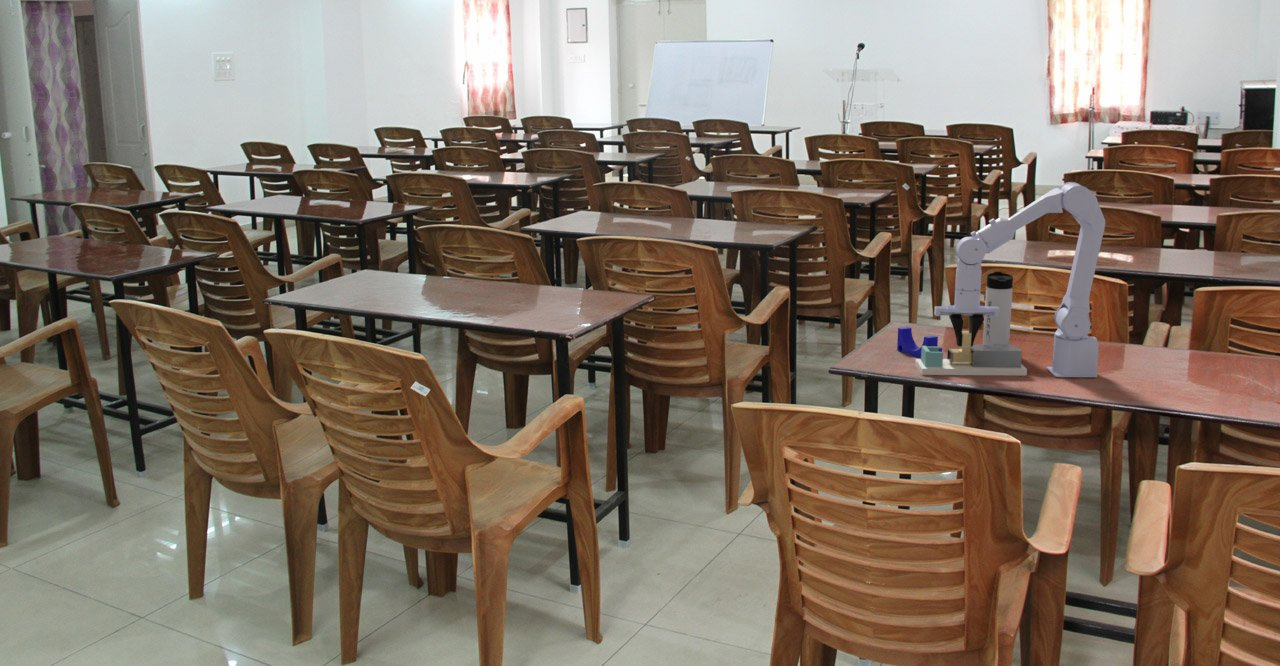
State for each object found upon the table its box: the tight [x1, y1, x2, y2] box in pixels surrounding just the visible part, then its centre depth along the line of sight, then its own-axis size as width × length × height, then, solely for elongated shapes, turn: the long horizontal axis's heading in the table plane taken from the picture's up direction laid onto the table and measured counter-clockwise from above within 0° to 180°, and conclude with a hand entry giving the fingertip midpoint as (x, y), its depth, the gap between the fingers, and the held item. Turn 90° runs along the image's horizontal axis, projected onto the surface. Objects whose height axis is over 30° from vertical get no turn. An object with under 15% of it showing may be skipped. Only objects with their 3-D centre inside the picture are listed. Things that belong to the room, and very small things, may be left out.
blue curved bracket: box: [896, 326, 943, 359], centre depth 279 cm, size 12×4×6 cm, turn 24°
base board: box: [914, 358, 1028, 377], centre depth 264 cm, size 24×9×2 cm, turn 86°
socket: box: [920, 345, 944, 367], centre depth 264 cm, size 4×6×4 cm
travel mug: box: [982, 271, 1014, 345], centre depth 278 cm, size 6×7×20 cm
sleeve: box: [970, 344, 1023, 368], centre depth 263 cm, size 11×6×4 cm, turn 86°
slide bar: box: [946, 330, 973, 363], centre depth 263 cm, size 15×4×7 cm, turn 86°
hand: (964, 345), depth 263 cm, fingers closed on slide bar, 2 cm apart
